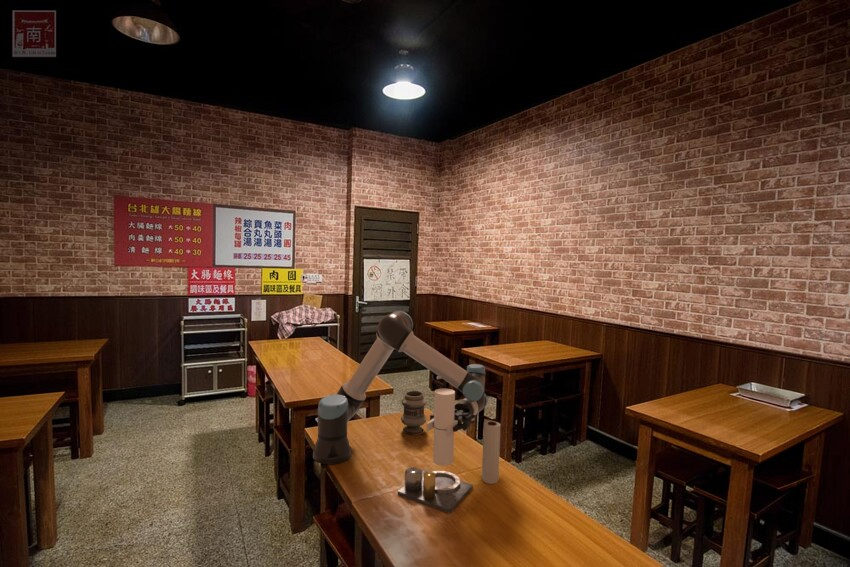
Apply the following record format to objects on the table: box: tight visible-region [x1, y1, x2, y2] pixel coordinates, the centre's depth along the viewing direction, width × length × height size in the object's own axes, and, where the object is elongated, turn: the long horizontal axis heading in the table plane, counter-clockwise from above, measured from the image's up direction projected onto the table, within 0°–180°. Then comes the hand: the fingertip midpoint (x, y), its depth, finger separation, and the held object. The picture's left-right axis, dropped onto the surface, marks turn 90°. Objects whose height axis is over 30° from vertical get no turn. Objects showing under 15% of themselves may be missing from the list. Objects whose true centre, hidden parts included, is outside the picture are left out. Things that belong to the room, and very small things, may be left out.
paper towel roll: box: [481, 418, 501, 485], centre depth 154 cm, size 7×6×21 cm
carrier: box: [397, 466, 474, 514], centre depth 146 cm, size 20×20×8 cm
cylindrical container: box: [432, 387, 456, 467], centre depth 148 cm, size 7×7×25 cm
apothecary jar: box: [400, 390, 427, 436], centre depth 196 cm, size 12×12×18 cm
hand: (437, 429), depth 143 cm, fingers closed on cylindrical container, 7 cm apart
